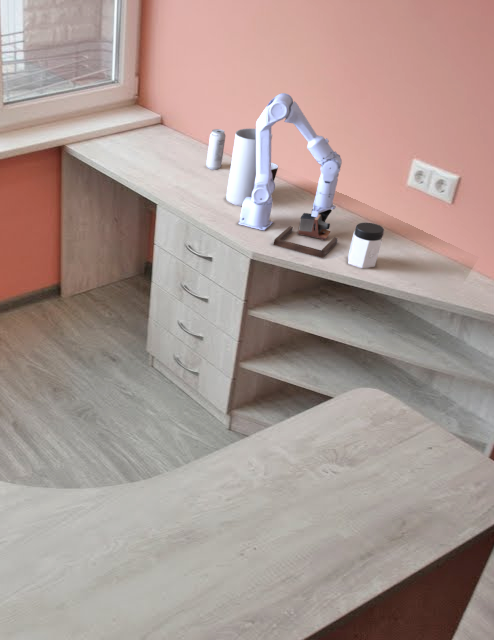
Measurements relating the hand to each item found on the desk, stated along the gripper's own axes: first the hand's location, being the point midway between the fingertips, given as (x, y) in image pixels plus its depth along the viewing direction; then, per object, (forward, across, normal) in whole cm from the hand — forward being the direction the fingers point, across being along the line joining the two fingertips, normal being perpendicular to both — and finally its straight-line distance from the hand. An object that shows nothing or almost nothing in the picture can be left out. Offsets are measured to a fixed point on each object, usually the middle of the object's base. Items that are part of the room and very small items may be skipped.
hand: (317, 229), depth 271 cm
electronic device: (+1, -2, 0) cm, 3 cm away
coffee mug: (+2, +26, +31) cm, 41 cm away
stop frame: (+2, -10, 0) cm, 10 cm away
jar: (+2, -13, -19) cm, 23 cm away
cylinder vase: (+2, +12, +32) cm, 35 cm away
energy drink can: (+1, +38, +56) cm, 68 cm away
